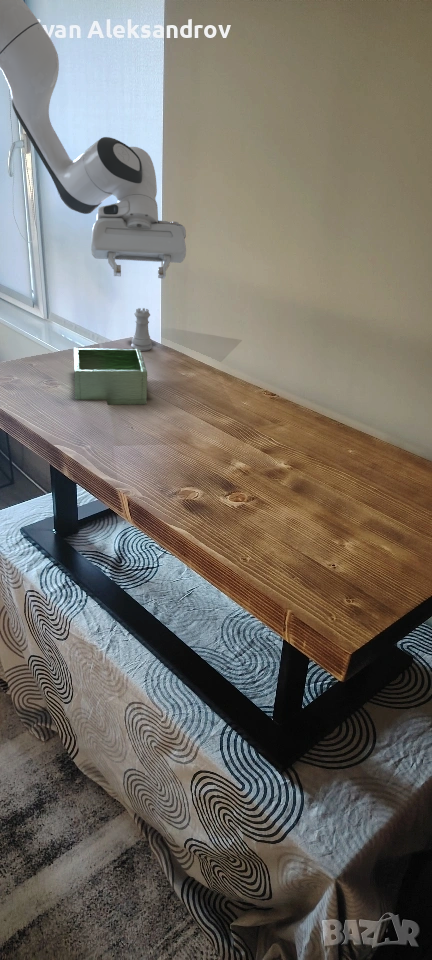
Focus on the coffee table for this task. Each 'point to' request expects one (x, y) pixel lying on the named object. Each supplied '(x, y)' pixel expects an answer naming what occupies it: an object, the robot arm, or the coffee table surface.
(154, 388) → the coffee table surface
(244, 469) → the coffee table surface
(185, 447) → the coffee table surface
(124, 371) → the green planter box
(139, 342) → the rook chess piece
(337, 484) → the coffee table surface
